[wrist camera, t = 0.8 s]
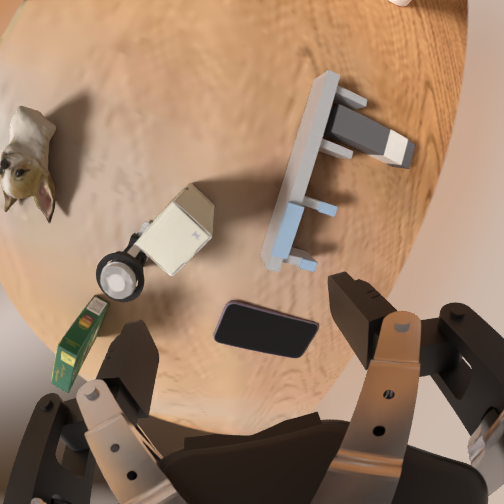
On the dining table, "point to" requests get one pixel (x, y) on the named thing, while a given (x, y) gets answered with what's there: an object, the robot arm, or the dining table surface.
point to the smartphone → (264, 330)
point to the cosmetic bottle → (400, 2)
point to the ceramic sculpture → (28, 161)
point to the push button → (123, 271)
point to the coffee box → (78, 343)
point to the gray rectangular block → (369, 137)
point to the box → (179, 230)
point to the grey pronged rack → (306, 173)
